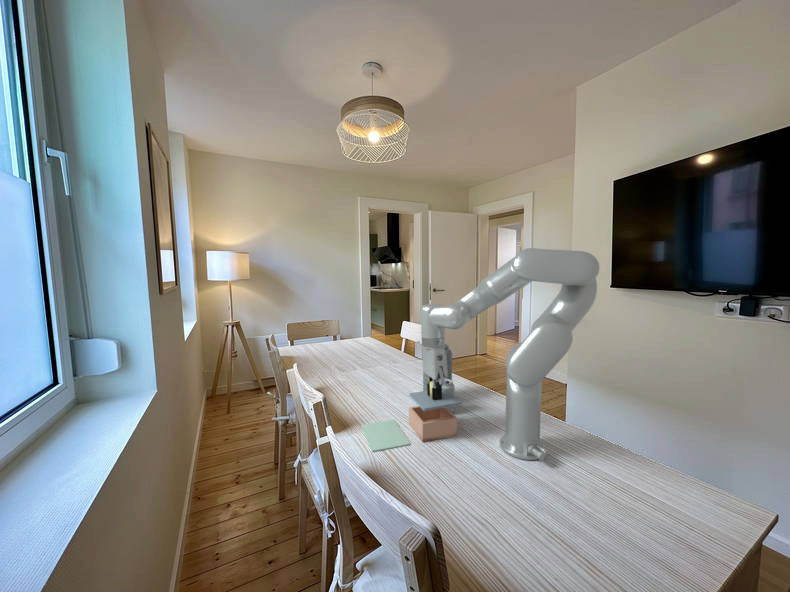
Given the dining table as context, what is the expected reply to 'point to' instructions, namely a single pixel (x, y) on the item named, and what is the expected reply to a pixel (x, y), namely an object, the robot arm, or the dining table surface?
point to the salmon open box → (432, 423)
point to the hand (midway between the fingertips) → (434, 396)
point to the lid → (430, 404)
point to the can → (449, 390)
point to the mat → (384, 435)
